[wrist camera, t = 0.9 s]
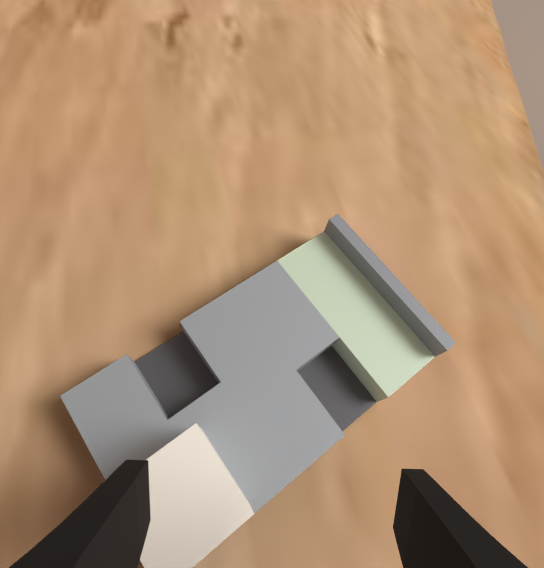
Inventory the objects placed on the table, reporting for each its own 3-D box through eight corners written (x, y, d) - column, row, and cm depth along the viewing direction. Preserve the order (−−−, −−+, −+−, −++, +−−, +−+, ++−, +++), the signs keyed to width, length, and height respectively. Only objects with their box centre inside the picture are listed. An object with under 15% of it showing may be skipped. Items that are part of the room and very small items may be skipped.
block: (173, 569, 18) (159, 596, 15) (126, 484, 20) (103, 490, 16) (249, 503, 20) (253, 513, 16) (201, 429, 21) (196, 422, 18)
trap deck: (170, 578, 20) (159, 602, 17) (74, 401, 23) (48, 391, 20) (427, 357, 26) (456, 342, 23) (325, 241, 30) (338, 213, 26)
